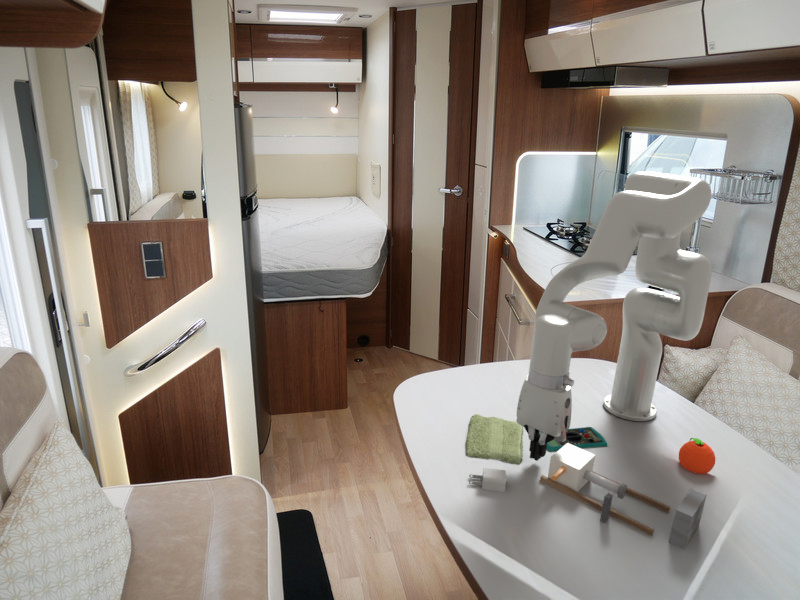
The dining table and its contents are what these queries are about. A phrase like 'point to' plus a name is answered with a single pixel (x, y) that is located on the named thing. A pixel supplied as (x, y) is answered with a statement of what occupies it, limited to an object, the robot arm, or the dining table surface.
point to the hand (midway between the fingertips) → (536, 456)
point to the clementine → (697, 456)
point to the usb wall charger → (491, 479)
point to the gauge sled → (579, 470)
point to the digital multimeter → (579, 439)
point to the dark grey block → (606, 507)
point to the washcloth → (495, 439)
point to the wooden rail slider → (684, 516)
